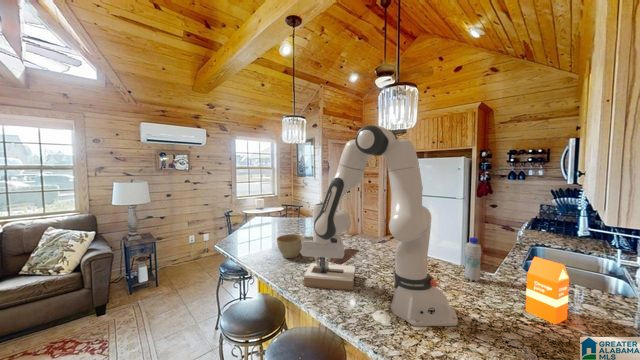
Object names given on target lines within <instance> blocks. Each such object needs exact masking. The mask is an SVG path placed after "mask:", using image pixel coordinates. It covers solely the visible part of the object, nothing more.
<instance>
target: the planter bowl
mask: <svg viewBox="0 0 640 360" xmlns="http://www.w3.org/2000/svg"><path fill="white" fill-rule="evenodd" d="M303 237H304V236H303V235H301V234H283V235H280V236H278V237H276V243H277V248H278V250H279V252H280V253H281V255H282V257H283V258H286V259H294V258H298V256H299V254H300V253H301V248H302V244H301V239H302V238H303Z"/></svg>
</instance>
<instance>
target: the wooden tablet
mask: <svg viewBox="0 0 640 360" xmlns="http://www.w3.org/2000/svg"><path fill="white" fill-rule="evenodd" d="M358 252H359V249H356V248H346V249H345V248H344V257H343V258H331V259H330V261H329V263H334V264H335V263H336V264H335V265H341V264H343V263H344V262H347V261H348V260H349V259H350V258H351V257H353V256H355V255H356V254H357V253H358ZM327 261H328V260H327V259H325V262H327Z"/></svg>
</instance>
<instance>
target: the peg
mask: <svg viewBox="0 0 640 360" xmlns="http://www.w3.org/2000/svg"><path fill="white" fill-rule="evenodd" d="M319 261H320V273H323V274H326V273H325V262H326V258H325V257H319Z"/></svg>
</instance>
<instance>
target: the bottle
mask: <svg viewBox="0 0 640 360" xmlns="http://www.w3.org/2000/svg"><path fill="white" fill-rule="evenodd" d="M464 254H465V264H464V265H465V267H464V276H465V277H464V278H465V279H466V280H469V281H470V282H473V281H474V282H475V283H477V282H480V280H481V257H482V246H481V244H479V240H478V238H477V237H469V242H466V243H465V248H464Z"/></svg>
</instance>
